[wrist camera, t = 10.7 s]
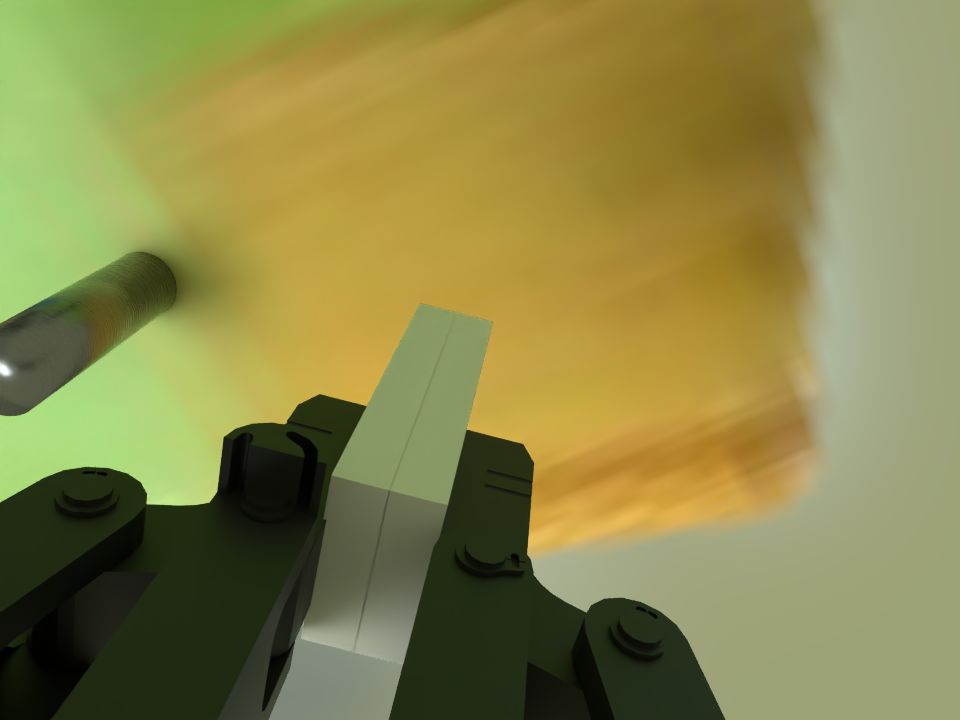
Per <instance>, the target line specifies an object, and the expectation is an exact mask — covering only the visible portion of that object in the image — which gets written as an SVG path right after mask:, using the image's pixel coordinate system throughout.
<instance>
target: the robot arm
mask: <svg viewBox="0 0 960 720" xmlns="http://www.w3.org/2000/svg"><path fill="white" fill-rule="evenodd" d="M492 324H493V322H492V321H488V320H484V319H480V318H476V317H473V316H469V315H465V314H461V313H457V312H453V311H449V310H445V309H441V308H437V307H434V306H430V305H426V304H422V303H420V304H419V306H418V308H417V310H416V312H415V314H414V316H413V318H412V320H411V322H410V324H409V326H408V328H407V329H406V331H405V333H404V335H403V337H402V339H401V341H400V343H399V345H398V347H397V349H396V351H395V353H394V355H393V357H392V359H391V361H390V362H389V364H388V366H387V368H386V370H385V372H384V374H383V376H382V378H381V380H380V382H379V384H378V386H377V388H376V390H375V392H374V394H373V395H372V397H371V399H370V401H369V403H368V405H367V406H364V405H360V404H356V403H352V402H348V401H344V400H340V399H336V398H332V397H329V396H325V395H321V394H319V395H317V396H315V397H313V398H311V399H309V400H307V401H305V402H303V403H301V404H299V405H298V406H297V407H296V409H295V410H294V412H293V413H292V415H291V416H290V417H289V419H288V420H287V424H285V425H284V424H277V423H257V424H250V425H246V426H243V427H240V428H236V429H234V430H233V431H232V432H230V433H229V434H228V435H226V436H225V437H224V440H223V449H222V457H221V466H220V474H219V483H218V491H217V493H216V495H215V496H214V497H213V499H212V500H211V501H210V503H205V504H200V505H185V506H174V505H150V504H146V502H147V493H146V491H145V489H144V488H143V486H142V484H141V482H139V481H138V480H136V479H135V478H133V477H132V476H130V475H129V474H127V473H123V472H120V471H116V470H113V469H109V468H96V467H82V468H76V469H69V470H63V471H61V472H58V473H55V474H53V475H50V476H48V477H45V478H43V479H41V480H40V481H38V482H36V483H34V484H32V485H31V486H29V487H27V488H25V489H23V490H22V491H20V492H18V493H16V494H15V495H13V496H11V497H9V498H7V499H6V500H4V501H2V502H0V720H268V719H269V717H270V714H271V712H272V710H273V707H274V705H275V703H276V700H277V697H278V695H279V693H280V691H281V688H282V686H283V684H284V681H285V679H286V677H287V674H288V672H289V669H290V666H291V660H292V654H293V648H294V643H295V639H296V637H297V635H298V632H299V630H300V628H301V626H302V623H303V621H304V626H303V631H302V637H301V639H304V640H308V641H311V642H315V643H319V644H323V645H327V646H331V647H335V648H339V649H343V650H346V651H350V652H354V653H358V654H362V655H366V656H370V657H374V658H378V659H382V660H385V661H389V662H393V663H397V664H401V665H403V667H402V671H401V675H400V679H399V683H398V686H397V690H396V694H395V698H394V702H393V706H392V710H391V714H390V717H389V720H725V718H724V716H723V714H722V712H721V710H720V707H719V705H718V703H717V701H716V699H715V697H714V695H713V693H712V691H711V689H710V686H709V684H708V682H707V680H706V678H705V676H704V674H703V672H702V670H701V668H700V666H699V664H698V661H697V660H696V657H695V655H694V653H693V651H692V649H691V647H690V645H689V643H688V641H687V639H686V638H685V636H684V635H683V633H682V632H681V631H680V629H679V628H678V626H677V625H676V624H675V623H673V622H672V621H671V620H670V619H669V618H667V617H666V616H665V615H664V614H662V613H661V612H660V611H658V610H656V609H654V608H652V607H650V606H648V605H646V604H644V603H642V602H638V601H634V600H629V599H625V598H608V599H603V600H601V601H599V602H597V603H595V604H593V605H591V606H590V608H589V610H588V612H587V613H586V612H584V611H582V610H580V609H578V608H576V607H574V606H572V605H570V604H568V603H566V602H564V601H563V600H561V599H560V598H558V597H556V596H555V595H553V594H552V593H550V592H549V591H548V590H547V589H546V588H545V587H544V586H542V585H541V584H540V582H539V581H538V580H537V579H536V577H535V576H534V575H533V573H534V572H533V568H532V563H531V559H530V558H529V557H528V555H527V548H528V535H529V522H530V509H531V496H532V482H533V470H534V462H533V460H532V459H531V457H530V455H529V453H528V452H527V450H526V448H525V446H524V445H523V444H520V443H516V442H512V441H509V440H505V439H501V438H497V437H493V436H489V435H485V434H481V433H477V432H474V431H470V430H466V429H467V425H468V421H469V417H470V413H471V409H472V405H473V401H474V397H475V393H476V389H477V385H478V381H479V377H480V373H481V369H482V364H483V360H484V356H485V352H486V348H487V344H488V340H489V336H490V332H491V328H492ZM304 619H305V620H304Z"/></svg>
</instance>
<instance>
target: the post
mask: <svg viewBox="0 0 960 720" xmlns="http://www.w3.org/2000/svg"><path fill="white" fill-rule="evenodd" d="M175 297H176V283H175V279H174V276H173V274H172V272H171V271H170V269H169V268H168V267H167V266H166V265H165V264H164V263H163V262H162V261H161V260H160V259H158V258H156V257H155V256H153V255H150V254H147V253H142V252H135V253H130V254H128V255H125V256H124V257H122V258H120V259H118V260H116V261H114V262H113V263H111V264H109V265H107V266H105V267H103V268H102V269H100V270H98V271H96V272H94V273H92V274H90V275H89V276H87V277H85V278H83V279H81V280H79V281H78V282H76V283H74V284H72V285H70V286H68V287H67V288H65V289H63V290H61V291H59V292H57V293H56V294H54V295H52V296H50V297H48V298H46V299H45V300H43V301H41V302H39V303H37V304H35V305H33V306H32V307H30V308H28V309H26V310H24V311H22V312H21V313H19V314H17V315H15V316H13V317H11V318H10V319H8V320H6V321H4V322H2V323H0V415H4V416H17V415H21V414H24V413H26V412H28V411H30V410H31V409H33V408H34V407H35V406H37V405H38V404H39V403H41V402H42V401H43V400H45V399H46V398H47V397H49V396H50V395H52V394H53V393H54V392H56V391H57V390H58V389H60V388H61V387H62V386H64V385H65V384H67V383H68V382H69V381H71V380H72V379H73V378H75V377H76V376H77V375H79V374H80V373H81V372H83V371H84V370H86V369H87V368H88V367H90V366H91V365H92V364H94V363H95V362H96V361H98V360H99V359H101V358H102V357H103V356H105V355H106V354H107V353H109V352H110V351H111V350H113V349H114V348H116V347H117V346H118V345H120V344H121V343H122V342H124V341H125V340H126V339H128V338H129V337H130V336H132V335H133V334H135V333H136V332H137V331H139V330H140V329H141V328H143V327H144V326H145V325H147V324H148V323H150V322H151V321H152V320H154V319H155V318H156V317H158V316H159V315H160V314H162V313H163V312H165V311H166V310H167V309H168V308H169V307H170V306H171V305H172V304H173V302H174V300H175Z"/></svg>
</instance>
